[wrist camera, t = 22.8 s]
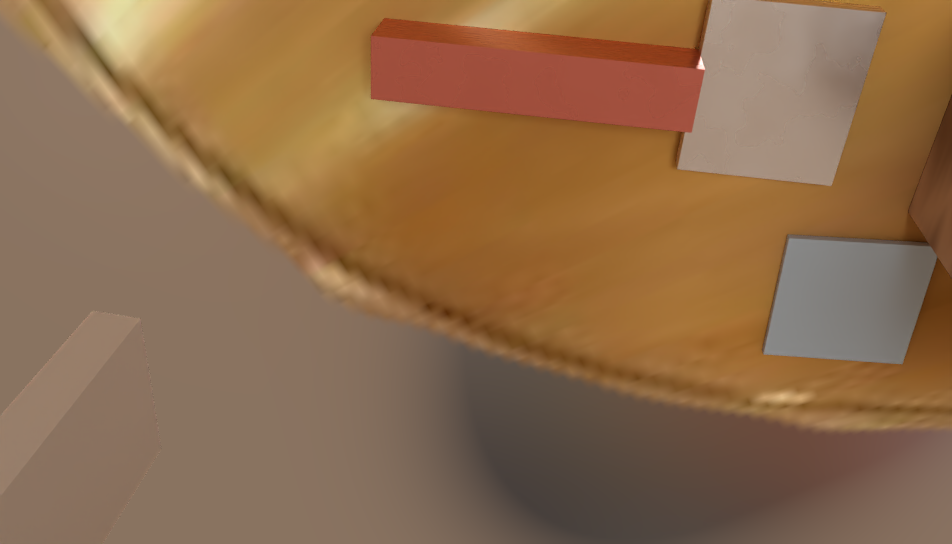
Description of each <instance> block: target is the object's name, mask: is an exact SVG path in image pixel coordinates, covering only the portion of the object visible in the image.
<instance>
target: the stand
mask: <svg viewBox="0 0 952 544" xmlns="http://www.w3.org/2000/svg"><path fill="white" fill-rule="evenodd" d="M908 213H909V214H910V216H911V217H912V219H913V220H914V222H915V223H916V225H917V226H918V228H919V229H920V231H921V232H922V234H923V235H924V237H925V239H926V240H927V242H928V243H929V245H930V246H931V248H932V249H933V251H934V252H935V254H936V255H937V257H938V258H939V260H940V261H941V263H942V264H943V266H944V268H945V269H946V271H947V272H948V274H949V275H950V277H951V278H952V96H951V99H950V101H949V104H948V107H947V109H946V112H945V115H944V117H943V120H942V123H941V125H940V128H939V131H938V133H937V136H936V139H935V141H934V144H933V147H932V149H931V152H930V155H929V157H928V160H927V163H926V165H925V168H924V170H923V173H922V176H921V178H920V181H919V184H918V186H917V189H916V192H915V194H914V197H913V200H912V202H911V205H910V208H909V210H908Z"/></svg>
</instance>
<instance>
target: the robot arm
mask: <svg viewBox="0 0 952 544" xmlns="http://www.w3.org/2000/svg"><path fill="white" fill-rule="evenodd" d="M160 450H161V444H160V437H159V431H158V424H157V418H156V412H155V405H154V400H153V393H152V386H151V380H150V374H149V367H148V361H147V355H146V349H145V343H144V336H143V330H142V323H141V318H135V317H129V316H122V315H116V314H109V313H103V312H96V311H92V312H91V313H90V314H89V316H87V318H86V319H85V320H84V321H83V322H82V323H81V324H80V326H79V327H78V328H77V329H76V330H75V331H74V333H73V334H72V335H71V336H70V337H69V338H68V339H67V340H66V342H65V343H64V344H63V345H62V346H61V347H60V348H59V349H58V351H57V352H56V353H55V354H54V355H53V356H52V357H51V359H50V360H49V361H48V362H47V363H46V364H45V365H44V367H43V368H42V369H41V370H40V371H39V372H38V373H37V374H36V376H35V377H34V378H33V379H32V380H31V381H30V382H29V384H28V385H27V386H26V387H25V388H24V389H23V390H22V391H21V393H20V394H19V395H18V396H17V397H16V398H15V399H14V401H13V402H12V403H11V404H10V405H9V406H8V407H7V409H6V410H5V411H4V412H3V413H2V414H1V415H0V544H103V542H104V541H105V539H106V538H107V536H108V534H109V533H110V531H111V529H112V528H113V526H114V525H115V523H116V521H117V520H118V518H119V517H120V515H121V513H122V512H123V510H124V508H125V507H126V505H127V504H128V502H129V500H130V499H131V497H132V496H133V494H134V492H135V491H136V489H137V487H138V486H139V484H140V483H141V481H142V479H143V478H144V476H145V475H146V473H147V471H148V470H149V468H150V467H151V465H152V463H153V462H154V460H155V458H156V457H157V455H158V454H159V452H160Z"/></svg>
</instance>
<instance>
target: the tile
mask: <svg viewBox="0 0 952 544" xmlns="http://www.w3.org/2000/svg"><path fill="white" fill-rule="evenodd" d="M936 260H937V255H936V254H935V252H934V251H933V249H932V248H931V246H930V245H929V243H928V242H911V241H893V240H875V239H858V238H840V237H823V236H805V235H787V240H786V244H785V249H784V253H783V258H782V262H781V267H780V272H779V276H778V281H777V285H776V290H775V294H774V299H773V303H772V308H771V313H770V317H769V322H768V326H767V331H766V335H765V340H764V344H763V349H762V350H763V354H767V355H781V356H795V357H809V358H823V359H837V360H851V361H865V362H879V363H892V364H903V361H904V358H905V355H906V352H907V348H908V345H909V342H910V339H911V336H912V333H913V330H914V327H915V324H916V321H917V318H918V315H919V312H920V309H921V306H922V303H923V300H924V297H925V294H926V291H927V288H928V285H929V282H930V278H931V275H932V272H933V269H934V266H935V263H936Z"/></svg>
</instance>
